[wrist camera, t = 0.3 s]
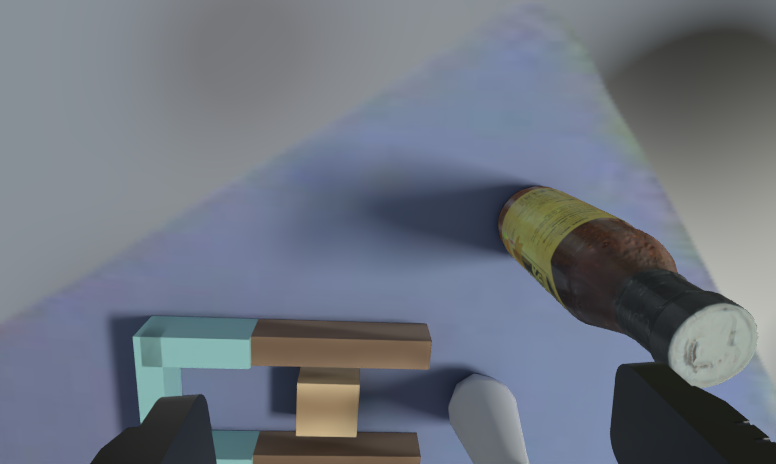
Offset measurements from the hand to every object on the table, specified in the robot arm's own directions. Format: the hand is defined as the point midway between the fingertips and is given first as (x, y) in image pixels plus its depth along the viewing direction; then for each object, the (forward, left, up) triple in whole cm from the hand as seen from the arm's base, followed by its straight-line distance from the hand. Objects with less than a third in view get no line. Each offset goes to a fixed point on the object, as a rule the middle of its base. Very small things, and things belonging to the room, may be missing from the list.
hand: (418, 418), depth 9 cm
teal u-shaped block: (-19, +13, -29) cm, 37 cm away
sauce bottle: (-3, -13, -29) cm, 32 cm away
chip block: (-19, +3, -29) cm, 35 cm away
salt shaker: (-19, -10, -29) cm, 36 cm away
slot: (-19, +2, -29) cm, 35 cm away
